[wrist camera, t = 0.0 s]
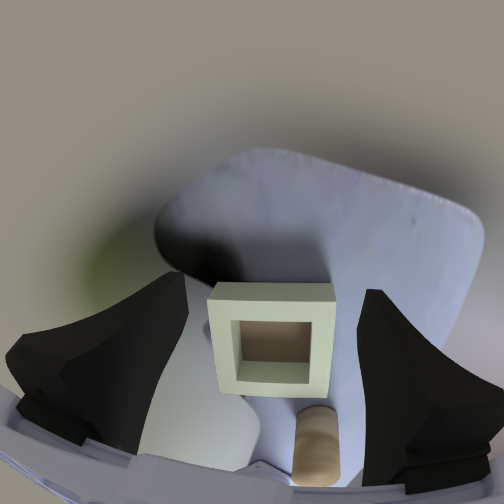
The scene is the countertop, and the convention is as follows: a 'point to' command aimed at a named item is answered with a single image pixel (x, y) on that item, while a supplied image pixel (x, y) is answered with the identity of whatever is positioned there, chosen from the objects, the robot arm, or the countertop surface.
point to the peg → (316, 448)
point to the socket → (272, 338)
